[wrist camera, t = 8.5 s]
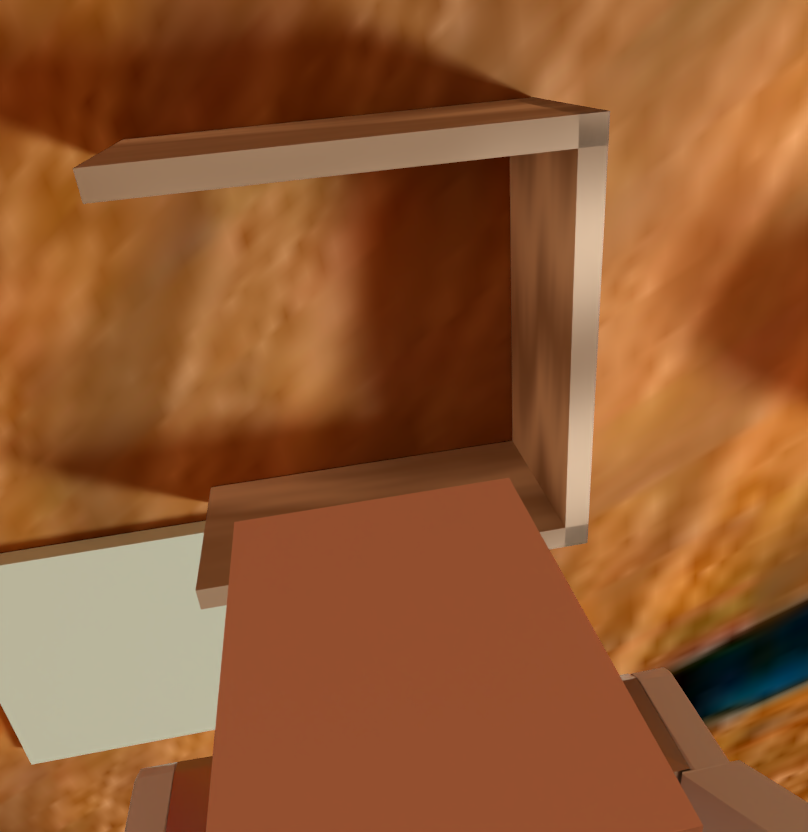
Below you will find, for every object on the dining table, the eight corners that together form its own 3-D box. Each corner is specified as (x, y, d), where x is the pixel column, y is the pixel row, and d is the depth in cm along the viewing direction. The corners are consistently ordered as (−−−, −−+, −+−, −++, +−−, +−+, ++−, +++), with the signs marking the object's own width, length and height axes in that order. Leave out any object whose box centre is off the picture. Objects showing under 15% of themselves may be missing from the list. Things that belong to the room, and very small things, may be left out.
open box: (531, 454, 29) (587, 542, 24) (214, 504, 28) (200, 609, 23) (533, 97, 23) (610, 111, 18) (122, 139, 21) (72, 168, 16)
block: (512, 690, 14) (657, 1075, 9) (284, 734, 13) (290, 1170, 8) (508, 477, 12) (702, 826, 6) (234, 521, 11) (196, 938, 6)
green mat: (276, 703, 33) (276, 717, 33) (36, 748, 32) (31, 764, 32) (231, 516, 28) (230, 528, 28) (-57, 562, 27) (-66, 575, 26)
